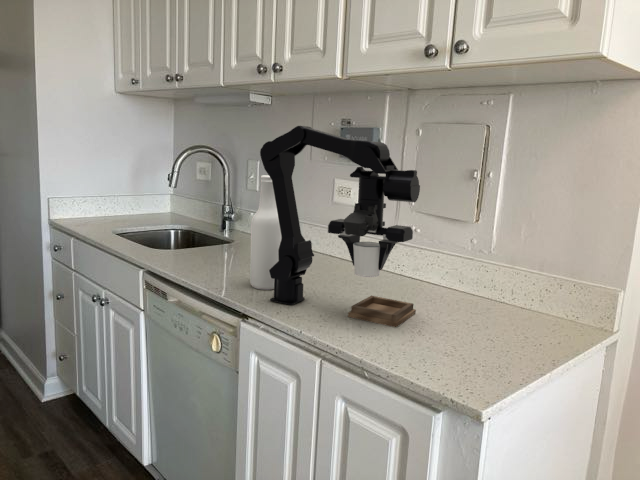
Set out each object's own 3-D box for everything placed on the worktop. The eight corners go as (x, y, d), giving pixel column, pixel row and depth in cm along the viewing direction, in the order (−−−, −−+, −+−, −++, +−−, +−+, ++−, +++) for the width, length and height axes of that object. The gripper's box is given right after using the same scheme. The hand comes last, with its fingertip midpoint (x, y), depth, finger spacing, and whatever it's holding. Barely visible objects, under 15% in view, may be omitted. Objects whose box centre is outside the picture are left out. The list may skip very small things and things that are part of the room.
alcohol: (287, 288, 143) (290, 176, 138) (257, 291, 139) (258, 176, 134) (274, 281, 151) (277, 175, 146) (245, 283, 147) (246, 174, 142)
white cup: (363, 269, 125) (365, 240, 124) (388, 274, 121) (389, 244, 119) (345, 273, 120) (347, 243, 119) (370, 279, 116) (371, 247, 114)
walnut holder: (347, 316, 122) (348, 306, 122) (369, 304, 132) (370, 294, 132) (396, 327, 116) (397, 316, 116) (415, 313, 126) (416, 303, 126)
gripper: (316, 198, 115) (313, 267, 118) (394, 205, 106) (390, 281, 109) (341, 195, 125) (338, 259, 128) (415, 201, 115) (411, 271, 118)
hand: (367, 267), depth 120 cm, fingers closed on white cup, 6 cm apart
